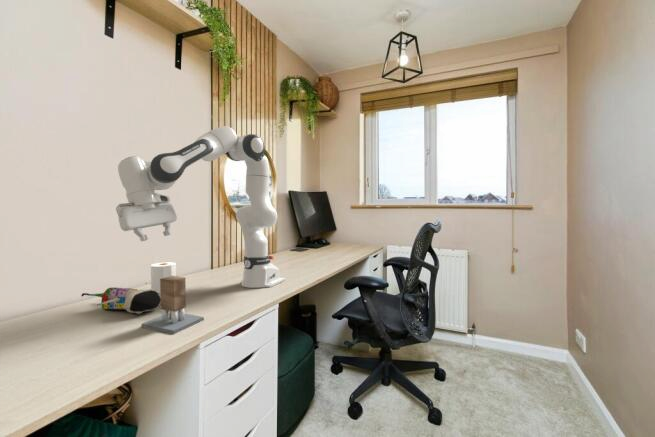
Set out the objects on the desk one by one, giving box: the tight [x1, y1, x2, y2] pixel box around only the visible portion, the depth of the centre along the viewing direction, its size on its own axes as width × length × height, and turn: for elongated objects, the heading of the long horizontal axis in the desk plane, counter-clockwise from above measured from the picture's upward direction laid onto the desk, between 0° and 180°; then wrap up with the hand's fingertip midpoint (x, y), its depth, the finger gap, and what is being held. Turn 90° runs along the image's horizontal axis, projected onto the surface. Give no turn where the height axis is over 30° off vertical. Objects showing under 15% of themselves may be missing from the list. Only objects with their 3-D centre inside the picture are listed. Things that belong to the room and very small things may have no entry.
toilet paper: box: [150, 261, 177, 294], centre depth 136 cm, size 10×10×12 cm
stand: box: [140, 308, 205, 335], centre depth 99 cm, size 12×14×5 cm
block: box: [159, 275, 187, 312], centre depth 98 cm, size 4×6×10 cm
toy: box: [81, 287, 161, 315], centre depth 112 cm, size 23×9×30 cm
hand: (156, 237), depth 108 cm, fingers open, 8 cm apart
